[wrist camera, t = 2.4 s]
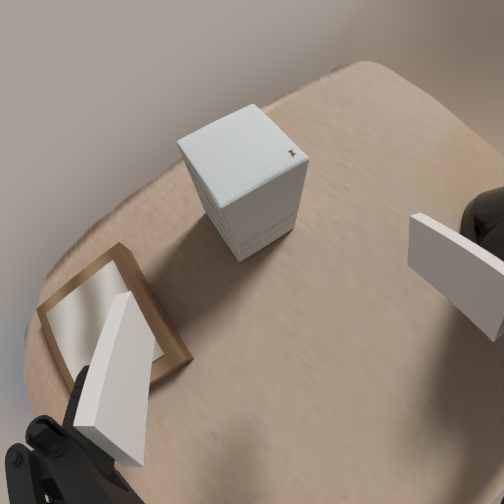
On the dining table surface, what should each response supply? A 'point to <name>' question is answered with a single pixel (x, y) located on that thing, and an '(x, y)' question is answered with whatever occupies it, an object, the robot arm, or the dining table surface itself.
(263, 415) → the dining table surface
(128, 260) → the picture frame
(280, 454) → the dining table surface
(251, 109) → the supplement box
